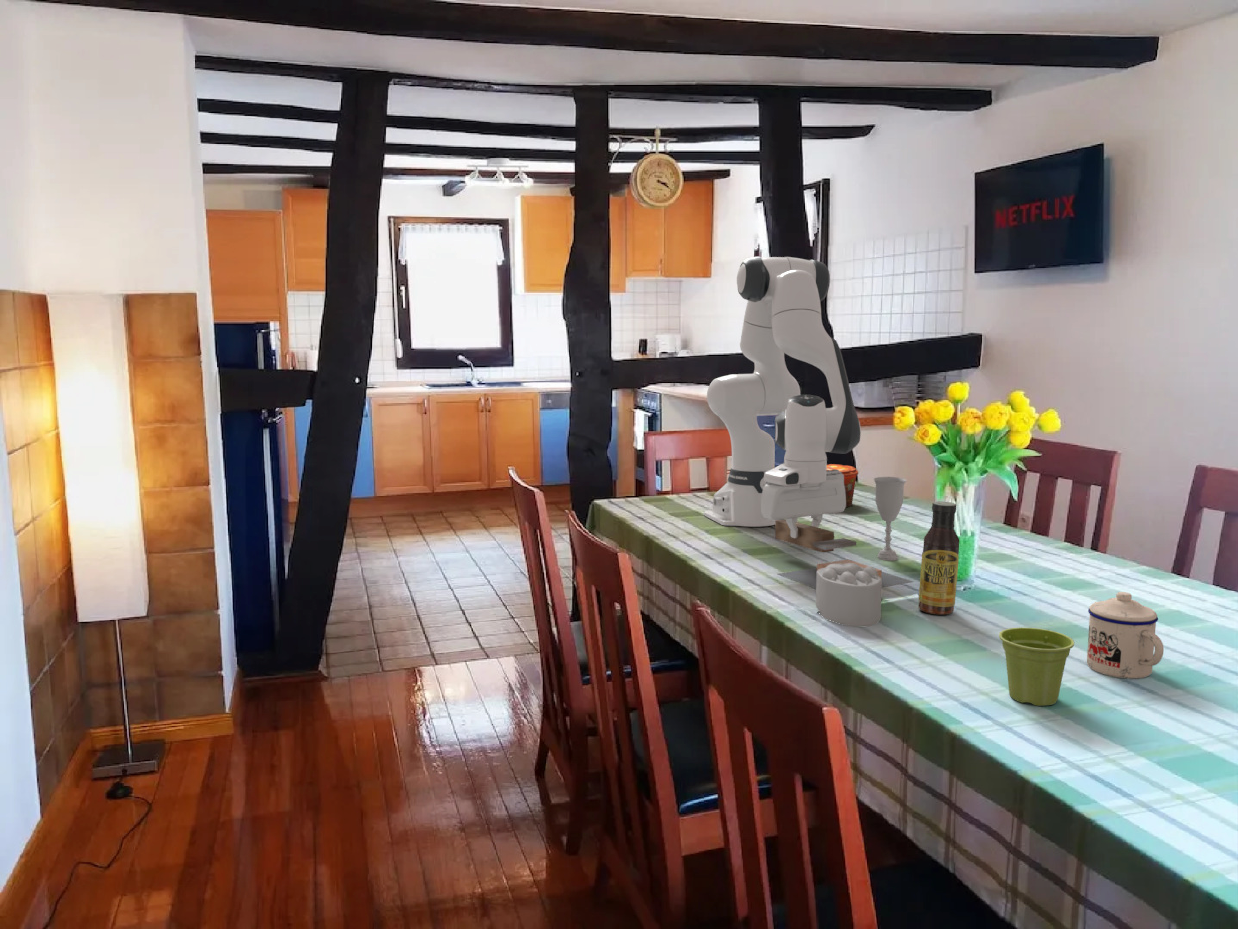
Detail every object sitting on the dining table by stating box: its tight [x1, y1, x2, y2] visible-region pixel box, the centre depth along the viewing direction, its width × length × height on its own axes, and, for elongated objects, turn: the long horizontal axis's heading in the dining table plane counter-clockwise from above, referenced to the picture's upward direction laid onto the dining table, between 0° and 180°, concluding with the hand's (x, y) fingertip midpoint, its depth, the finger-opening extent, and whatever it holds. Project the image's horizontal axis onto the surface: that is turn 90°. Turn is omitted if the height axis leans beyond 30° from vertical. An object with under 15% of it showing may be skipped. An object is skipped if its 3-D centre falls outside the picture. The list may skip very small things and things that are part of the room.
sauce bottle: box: [918, 500, 960, 616], centre depth 166 cm, size 6×6×20 cm
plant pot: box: [998, 627, 1075, 707], centre depth 128 cm, size 9×9×9 cm
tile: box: [816, 559, 883, 578], centre depth 186 cm, size 2×8×10 cm
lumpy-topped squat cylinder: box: [815, 563, 883, 627], centre depth 165 cm, size 10×13×9 cm
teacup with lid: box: [1086, 591, 1165, 680], centre depth 136 cm, size 12×9×12 cm
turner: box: [774, 519, 857, 553], centre depth 197 cm, size 20×8×4 cm, turn 27°
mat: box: [777, 567, 914, 590], centre depth 188 cm, size 18×20×1 cm
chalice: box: [873, 476, 907, 561], centre depth 202 cm, size 7×7×18 cm
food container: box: [827, 463, 859, 508], centre depth 267 cm, size 16×16×11 cm
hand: (803, 536), depth 198 cm, fingers closed on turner, 3 cm apart
